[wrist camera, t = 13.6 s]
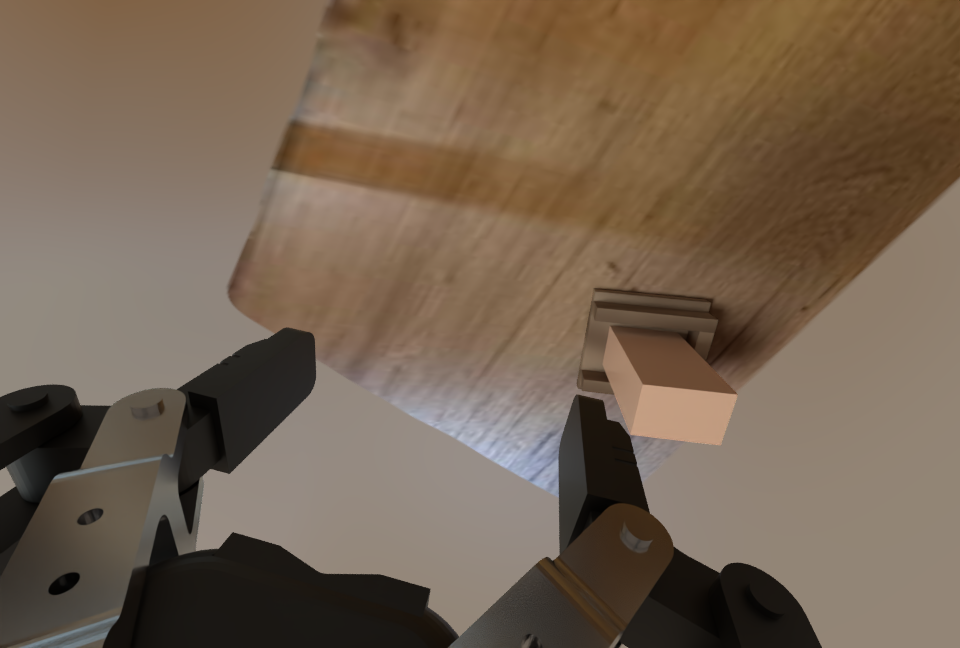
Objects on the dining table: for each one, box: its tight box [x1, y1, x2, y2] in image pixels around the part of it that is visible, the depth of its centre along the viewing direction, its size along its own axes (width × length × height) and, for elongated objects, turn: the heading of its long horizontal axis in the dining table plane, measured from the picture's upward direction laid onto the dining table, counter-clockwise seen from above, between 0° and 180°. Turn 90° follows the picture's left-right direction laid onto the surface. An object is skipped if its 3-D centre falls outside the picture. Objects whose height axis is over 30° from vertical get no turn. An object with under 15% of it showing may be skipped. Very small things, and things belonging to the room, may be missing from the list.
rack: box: [577, 289, 718, 395], centre depth 36 cm, size 10×10×3 cm
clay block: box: [602, 326, 738, 445], centre depth 31 cm, size 4×6×11 cm, turn 86°
